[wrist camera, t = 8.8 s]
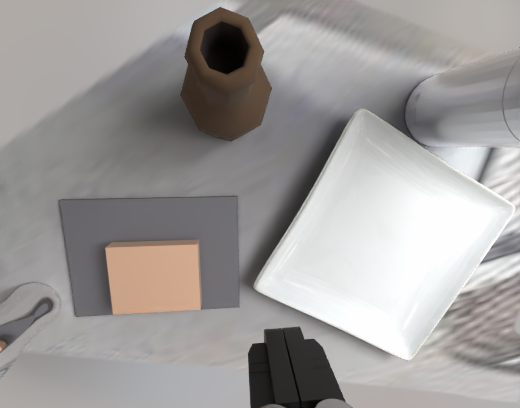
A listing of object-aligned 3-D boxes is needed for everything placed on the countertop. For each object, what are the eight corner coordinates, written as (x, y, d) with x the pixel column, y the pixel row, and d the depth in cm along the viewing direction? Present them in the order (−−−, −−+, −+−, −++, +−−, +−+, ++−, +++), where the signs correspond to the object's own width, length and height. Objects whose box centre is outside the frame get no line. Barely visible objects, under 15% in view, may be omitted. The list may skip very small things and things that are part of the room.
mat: (237, 196, 39) (237, 196, 38) (239, 305, 42) (239, 307, 41) (61, 199, 36) (59, 200, 36) (78, 314, 40) (76, 316, 39)
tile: (197, 244, 36) (105, 247, 35) (200, 309, 38) (113, 314, 37) (199, 238, 39) (113, 241, 38) (202, 299, 41) (120, 304, 39)
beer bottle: (192, 78, 35) (117, -52, 12) (255, 74, 36) (305, -58, 12) (200, 144, 37) (149, 143, 13) (261, 138, 37) (313, 129, 14)
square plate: (347, 107, 38) (360, 103, 34) (496, 202, 43) (522, 208, 39) (248, 278, 42) (250, 291, 38) (397, 348, 47) (412, 366, 43)
